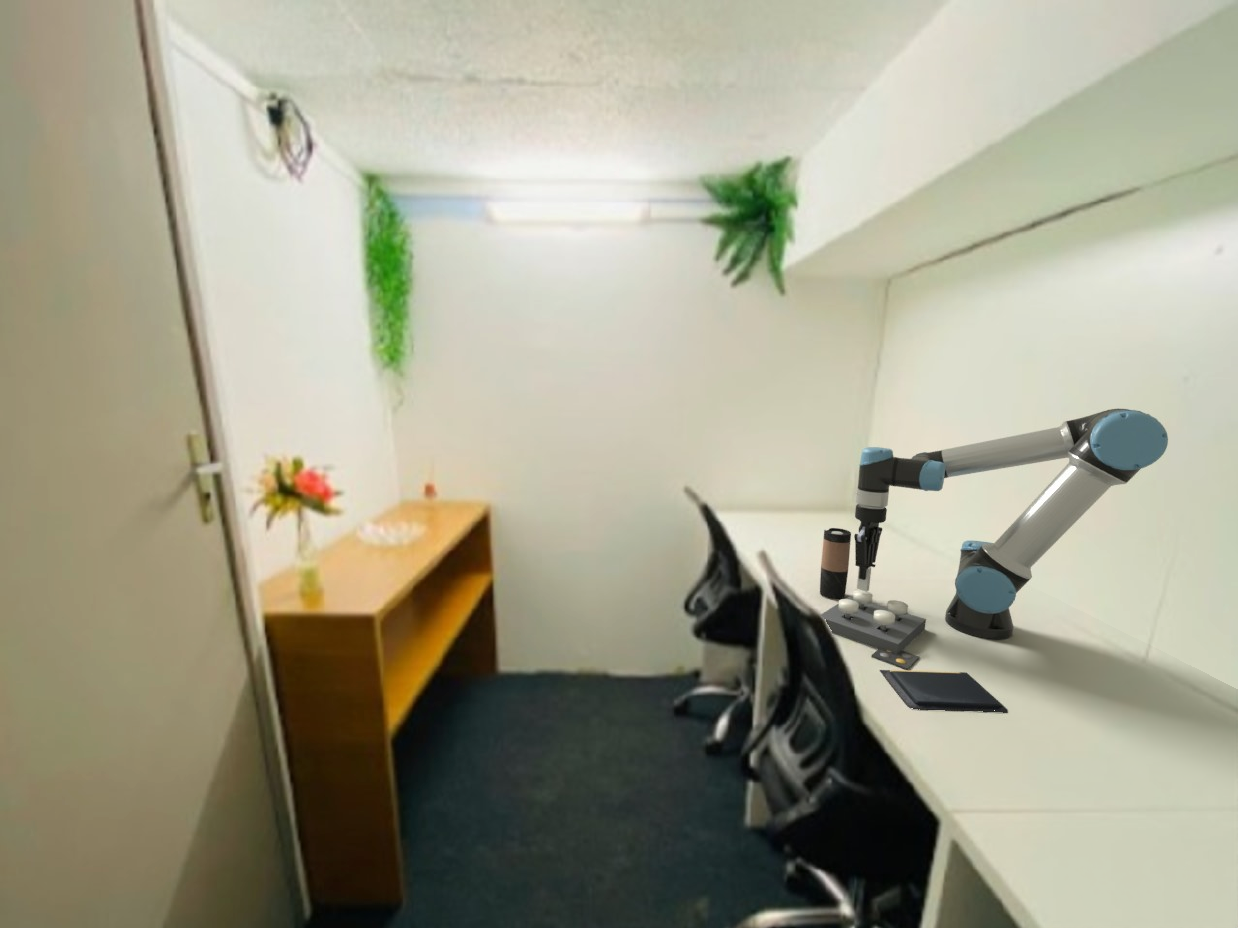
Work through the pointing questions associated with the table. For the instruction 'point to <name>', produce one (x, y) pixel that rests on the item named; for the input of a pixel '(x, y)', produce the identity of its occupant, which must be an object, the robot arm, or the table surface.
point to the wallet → (941, 691)
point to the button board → (875, 627)
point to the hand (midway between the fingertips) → (862, 589)
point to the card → (896, 658)
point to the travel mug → (835, 563)
